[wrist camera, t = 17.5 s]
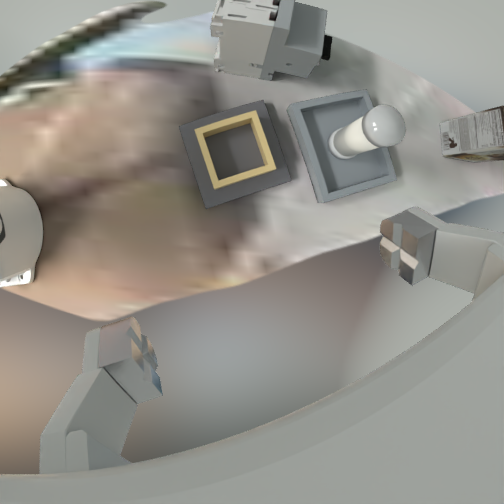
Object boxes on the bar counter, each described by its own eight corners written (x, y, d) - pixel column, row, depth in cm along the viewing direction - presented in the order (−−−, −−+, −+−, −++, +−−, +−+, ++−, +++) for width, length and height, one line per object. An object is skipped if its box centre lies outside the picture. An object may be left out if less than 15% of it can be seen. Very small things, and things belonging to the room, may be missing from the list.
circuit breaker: (311, 90, 39) (347, 46, 24) (215, 71, 38) (209, 17, 23) (317, 50, 38) (350, -1, 23) (225, 32, 37) (225, -28, 22)
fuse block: (206, 208, 41) (204, 209, 37) (180, 128, 39) (174, 121, 34) (289, 181, 41) (296, 179, 37) (262, 103, 39) (265, 92, 35)
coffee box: (471, 130, 42) (533, 118, 26) (474, 163, 43) (538, 159, 27) (438, 121, 41) (502, 103, 25) (441, 157, 42) (509, 149, 26)
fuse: (332, 162, 41) (377, 148, 27) (323, 133, 40) (363, 107, 26) (359, 155, 41) (410, 141, 27) (349, 127, 40) (397, 102, 26)
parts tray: (317, 202, 42) (324, 202, 39) (286, 110, 39) (290, 104, 36) (387, 180, 42) (397, 180, 39) (358, 95, 40) (366, 89, 37)
